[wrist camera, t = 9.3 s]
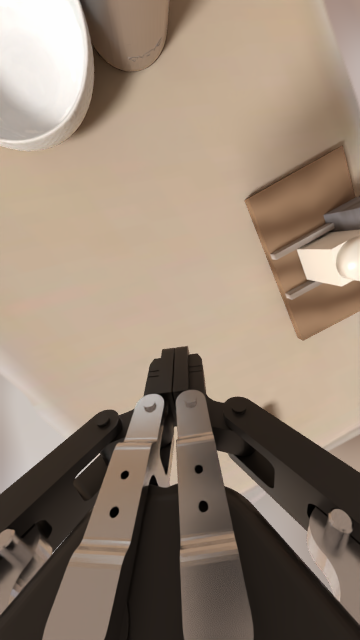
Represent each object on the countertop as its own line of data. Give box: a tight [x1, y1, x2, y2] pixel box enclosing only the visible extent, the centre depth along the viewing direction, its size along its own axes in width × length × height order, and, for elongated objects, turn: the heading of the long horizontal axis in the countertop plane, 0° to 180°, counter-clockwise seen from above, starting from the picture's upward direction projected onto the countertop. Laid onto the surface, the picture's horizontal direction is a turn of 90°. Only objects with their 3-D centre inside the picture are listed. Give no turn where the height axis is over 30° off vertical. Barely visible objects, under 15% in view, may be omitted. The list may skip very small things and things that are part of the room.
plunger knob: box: [297, 229, 360, 286], centre depth 31 cm, size 5×5×9 cm
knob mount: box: [245, 146, 360, 340], centre depth 33 cm, size 24×14×8 cm, turn 28°
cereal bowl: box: [0, 0, 94, 151], centre depth 24 cm, size 17×17×7 cm
